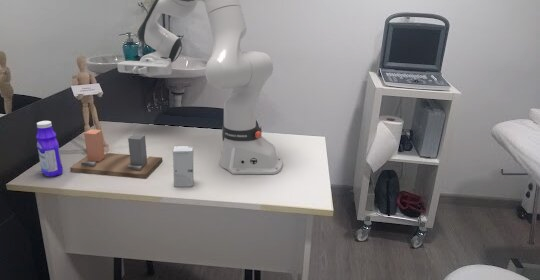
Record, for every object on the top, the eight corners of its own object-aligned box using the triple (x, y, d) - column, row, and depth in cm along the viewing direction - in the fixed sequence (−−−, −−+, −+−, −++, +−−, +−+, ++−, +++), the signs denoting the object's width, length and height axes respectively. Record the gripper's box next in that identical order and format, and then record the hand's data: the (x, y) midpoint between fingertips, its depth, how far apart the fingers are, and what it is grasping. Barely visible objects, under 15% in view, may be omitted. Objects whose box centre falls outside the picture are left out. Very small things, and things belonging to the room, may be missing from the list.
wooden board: (162, 161, 144) (162, 154, 143) (146, 178, 131) (145, 171, 130) (93, 155, 147) (92, 148, 146) (70, 171, 134) (69, 164, 133)
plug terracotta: (104, 157, 141) (101, 130, 138) (99, 161, 138) (95, 134, 134) (94, 156, 142) (90, 129, 138) (87, 160, 138) (84, 133, 134)
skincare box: (173, 187, 126) (171, 151, 122) (174, 180, 130) (173, 145, 126) (193, 186, 127) (192, 151, 123) (194, 180, 131) (193, 145, 127)
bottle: (39, 172, 133) (29, 121, 126) (57, 167, 137) (49, 117, 130) (47, 179, 128) (38, 127, 122) (66, 174, 132) (58, 123, 126)
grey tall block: (147, 162, 138) (145, 135, 135) (142, 167, 134) (139, 139, 131) (136, 161, 139) (133, 134, 135) (130, 166, 135) (128, 138, 131)
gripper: (125, 55, 164) (108, 61, 151) (174, 58, 162) (161, 64, 149) (127, 71, 167) (110, 78, 154) (175, 74, 164) (162, 81, 152)
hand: (136, 71), depth 151 cm, fingers closed
